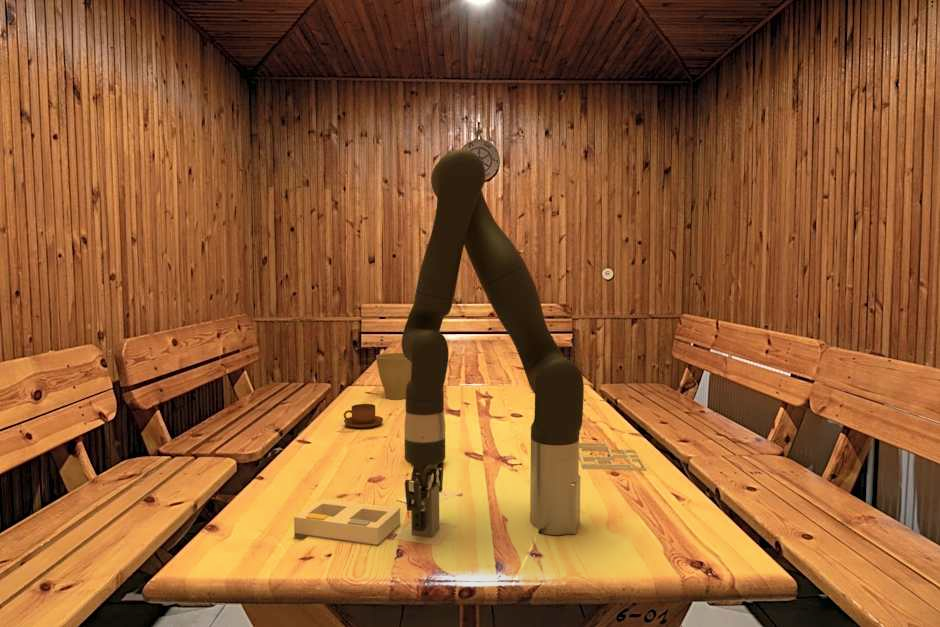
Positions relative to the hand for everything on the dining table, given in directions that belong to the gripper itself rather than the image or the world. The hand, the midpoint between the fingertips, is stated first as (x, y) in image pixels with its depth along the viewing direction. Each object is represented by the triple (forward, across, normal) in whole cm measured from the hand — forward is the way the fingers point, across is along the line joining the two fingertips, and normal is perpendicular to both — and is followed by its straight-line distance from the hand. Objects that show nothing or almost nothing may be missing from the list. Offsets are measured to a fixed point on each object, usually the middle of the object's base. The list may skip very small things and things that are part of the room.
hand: (425, 523), depth 124 cm
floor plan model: (+3, +59, -23) cm, 63 cm away
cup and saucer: (+3, +72, +49) cm, 87 cm away
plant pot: (+3, +113, +56) cm, 126 cm away
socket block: (+2, -3, +14) cm, 15 cm away
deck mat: (+2, 0, 0) cm, 2 cm away
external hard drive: (+3, +18, +6) cm, 19 cm away
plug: (+2, 0, 0) cm, 2 cm away
